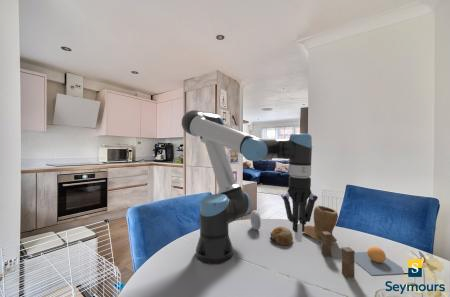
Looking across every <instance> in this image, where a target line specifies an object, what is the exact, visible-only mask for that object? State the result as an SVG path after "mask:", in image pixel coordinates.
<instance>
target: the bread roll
mask: <svg viewBox="0 0 450 297" xmlns="http://www.w3.org/2000/svg"><path fill="white" fill-rule="evenodd" d="M269 235H270V237H269V239H270V240H271V242H273V243H274V244H276V245H280V246H289V245H292V244H293V243H294V240H293V233H292V231H291V230H290V228H287V227H286V226H278V227H275V228H274V229H273V230H272V231H271V232H270V234H269Z"/></svg>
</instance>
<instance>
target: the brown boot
mask: <svg viewBox="0 0 450 297" xmlns="http://www.w3.org/2000/svg"><path fill="white" fill-rule="evenodd" d="M338 218H339V214H338V212H337V211H336V210H335V209H334V208H330V207H328V206H324V205H316V206H314V208H313V224H314V226H313V225H304V232H303V233H305V234H306V235H308V236H309V237H311V238H312V239H314V240H316V241H317V242H320V243H321V244H322V232H327V231H328V232H329V233H331V234H332V244H334V243H337V241H338V240H337V238H336V237H335V236H334V235H333V231H334V229H335V226H336V224H337V222H338Z"/></svg>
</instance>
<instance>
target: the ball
mask: <svg viewBox="0 0 450 297" xmlns="http://www.w3.org/2000/svg"><path fill="white" fill-rule="evenodd" d="M366 252H367V253H368V256H369V258H370V259H371V260H372V261H374V262H376V263H382V262H384V261H385V259H386V258H387V256H386V254H385V253H386V252H384V250H383V249H382V248H380V247H378V246H370V247H369V248H368V249H367V251H366Z"/></svg>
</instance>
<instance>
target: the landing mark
mask: <svg viewBox="0 0 450 297" xmlns="http://www.w3.org/2000/svg"><path fill="white" fill-rule="evenodd" d="M367 252H368V251H355V255H354V263H356V264H357V265H358V266H360V267H361V268H362V269H363V270H364V271H366V272H367V273H368V274H369V275H370V276H374V277H375V276H389V275H405V274H404V271H403V269H402V268H403V267H402V266H400V265H399V264H397V263H396V262H394V261H393V260H391V259H389V258H388V257H386V259H385V261H384V262H382V263H376V262H374V261H372V260H371V259H370V258H369V256H368V253H367Z"/></svg>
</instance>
